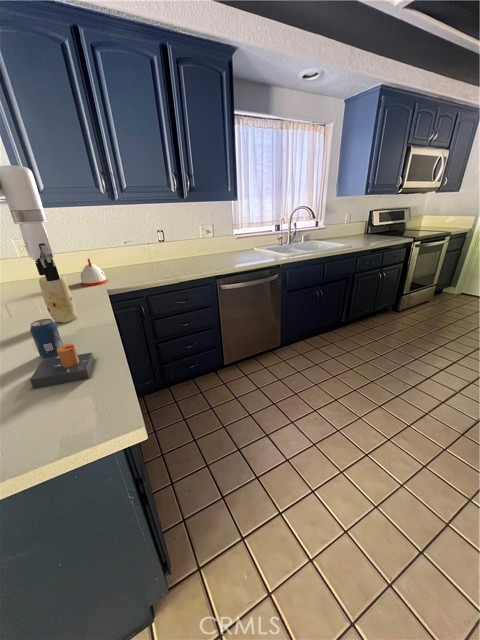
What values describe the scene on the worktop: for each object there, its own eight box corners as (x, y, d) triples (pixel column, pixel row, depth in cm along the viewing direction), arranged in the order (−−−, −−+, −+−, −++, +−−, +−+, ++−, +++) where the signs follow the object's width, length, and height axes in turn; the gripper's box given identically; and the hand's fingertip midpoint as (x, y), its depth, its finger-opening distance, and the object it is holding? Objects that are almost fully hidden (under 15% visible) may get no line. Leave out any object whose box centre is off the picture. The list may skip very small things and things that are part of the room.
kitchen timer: (104, 278, 177) (99, 255, 170) (108, 283, 166) (102, 259, 160) (81, 281, 170) (75, 258, 164) (83, 287, 159) (76, 262, 153)
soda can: (41, 352, 91) (29, 320, 86) (65, 347, 94) (54, 316, 89) (39, 362, 85) (26, 328, 80) (64, 356, 88) (53, 323, 83)
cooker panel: (33, 388, 73) (29, 379, 72) (44, 368, 82) (41, 360, 80) (89, 378, 77) (86, 369, 76) (94, 360, 86) (92, 351, 84)
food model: (78, 315, 119) (65, 272, 111) (77, 321, 114) (64, 276, 106) (52, 320, 115) (37, 275, 107) (51, 326, 110) (34, 279, 102)
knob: (60, 369, 76) (54, 351, 74) (64, 361, 80) (58, 344, 78) (77, 366, 78) (72, 349, 75) (80, 358, 81) (75, 341, 79)
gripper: (8, 217, 76) (29, 275, 83) (18, 219, 65) (41, 285, 72) (38, 215, 81) (56, 270, 88) (53, 217, 70) (71, 280, 77)
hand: (49, 277), depth 80 cm, fingers open, 9 cm apart
